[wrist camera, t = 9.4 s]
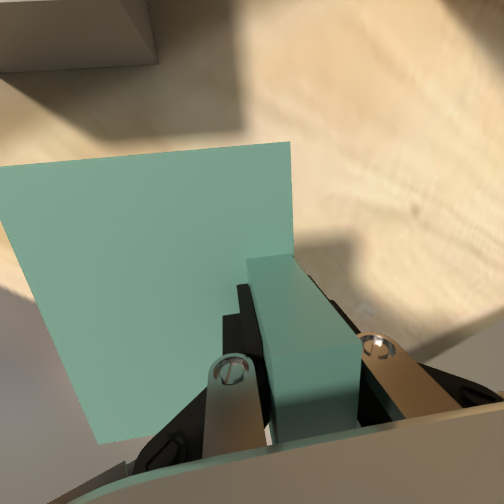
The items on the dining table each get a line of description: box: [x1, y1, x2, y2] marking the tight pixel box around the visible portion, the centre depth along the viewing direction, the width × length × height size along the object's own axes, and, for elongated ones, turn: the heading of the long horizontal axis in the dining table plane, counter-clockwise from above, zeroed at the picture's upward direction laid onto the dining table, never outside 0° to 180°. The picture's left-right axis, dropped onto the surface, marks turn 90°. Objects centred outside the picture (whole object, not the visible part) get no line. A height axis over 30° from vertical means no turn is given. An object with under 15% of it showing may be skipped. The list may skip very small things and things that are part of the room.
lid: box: [0, 142, 363, 445], centre depth 9 cm, size 11×14×8 cm
